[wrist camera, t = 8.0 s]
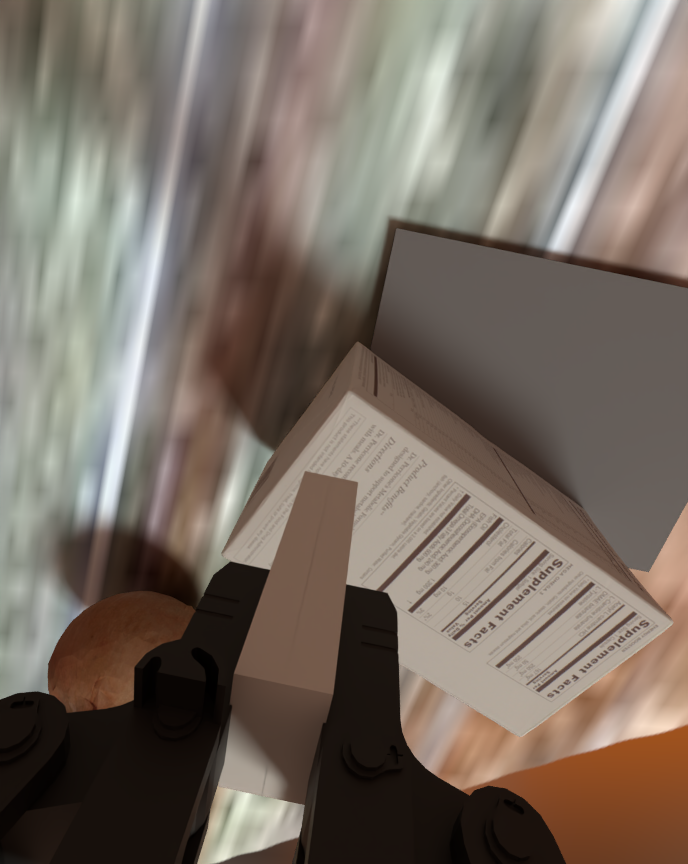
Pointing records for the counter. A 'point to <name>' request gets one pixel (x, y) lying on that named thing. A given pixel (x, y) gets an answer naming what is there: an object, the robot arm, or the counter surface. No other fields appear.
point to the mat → (552, 373)
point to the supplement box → (458, 548)
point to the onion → (112, 648)
